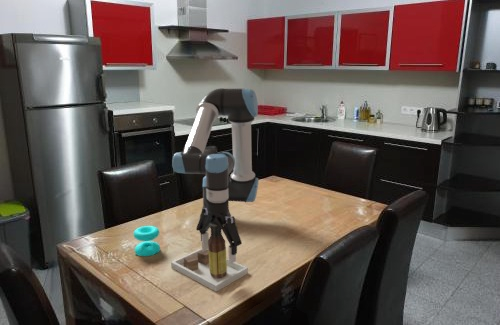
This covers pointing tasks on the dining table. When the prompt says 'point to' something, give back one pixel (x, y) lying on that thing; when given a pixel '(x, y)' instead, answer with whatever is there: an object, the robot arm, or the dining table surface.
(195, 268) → the walnut block
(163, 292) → the dining table surface
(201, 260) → the walnut block
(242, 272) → the tray
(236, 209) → the dining table surface
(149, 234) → the donuts
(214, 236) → the sauce bottle
